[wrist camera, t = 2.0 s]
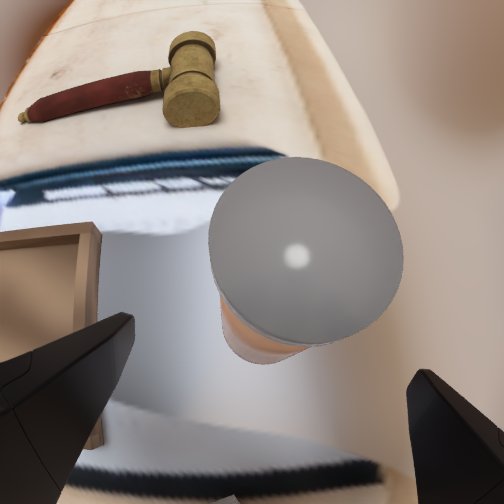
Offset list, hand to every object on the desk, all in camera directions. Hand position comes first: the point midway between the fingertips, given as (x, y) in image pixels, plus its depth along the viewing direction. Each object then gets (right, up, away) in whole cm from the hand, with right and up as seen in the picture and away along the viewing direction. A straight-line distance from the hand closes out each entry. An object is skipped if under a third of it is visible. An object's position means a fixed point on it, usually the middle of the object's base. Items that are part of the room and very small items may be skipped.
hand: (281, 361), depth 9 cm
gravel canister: (0, -1, +10) cm, 10 cm away
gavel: (-14, +17, +18) cm, 29 cm away
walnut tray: (-17, -3, +9) cm, 19 cm away
